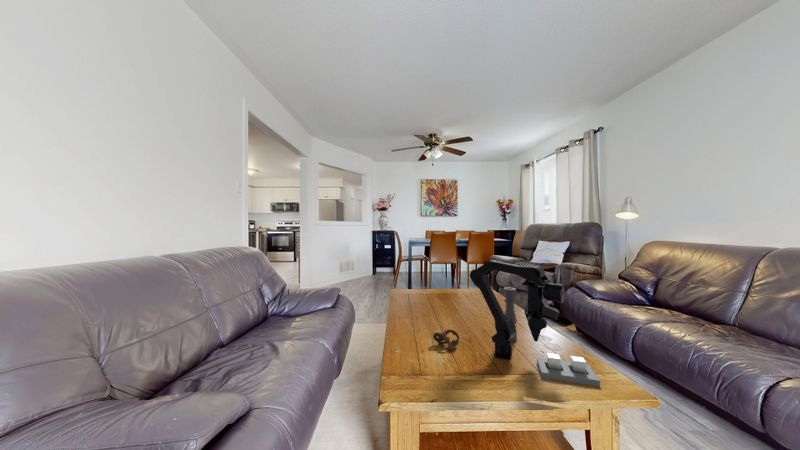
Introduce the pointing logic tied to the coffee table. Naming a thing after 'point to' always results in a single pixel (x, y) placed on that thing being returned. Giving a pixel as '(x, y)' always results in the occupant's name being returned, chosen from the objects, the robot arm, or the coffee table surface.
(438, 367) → the coffee table surface
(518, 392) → the coffee table surface
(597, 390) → the coffee table surface
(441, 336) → the brown looped piece
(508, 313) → the candle holder
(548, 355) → the billet
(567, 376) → the pallet
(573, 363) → the block
